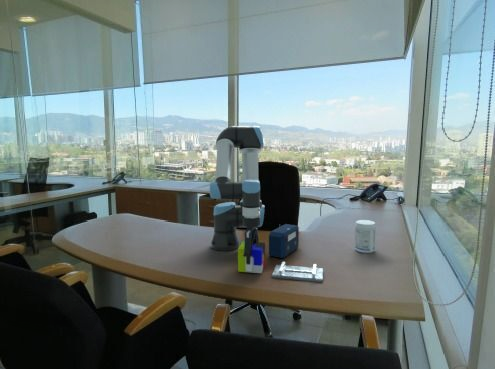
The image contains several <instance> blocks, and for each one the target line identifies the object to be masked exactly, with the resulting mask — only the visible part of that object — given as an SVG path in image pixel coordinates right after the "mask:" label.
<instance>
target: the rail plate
mask: <svg viewBox="0 0 495 369" xmlns="http://www.w3.org/2000/svg"><path fill="white" fill-rule="evenodd" d="M323 276H324V268H322V267H321V268H320V267H317V264H316V263H314V264H313V266H311V267H308V266H297V265H288V264H287V265H286V261H282V262H281V264H276V265H275V267H274V269H273V272H272V275H271V278H275V279H285V280H293V281H294V280H295V281H296V280H297V281H307V282H316V283H318V282H319V283H323V282H324V281H323V280H324V279H323V278H324V277H323Z"/></svg>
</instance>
